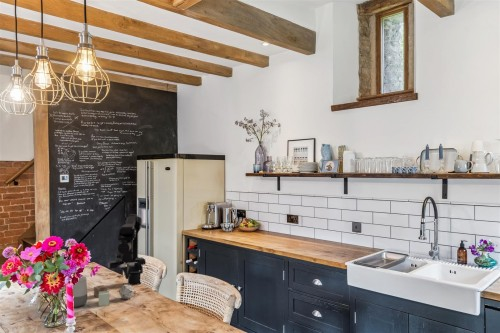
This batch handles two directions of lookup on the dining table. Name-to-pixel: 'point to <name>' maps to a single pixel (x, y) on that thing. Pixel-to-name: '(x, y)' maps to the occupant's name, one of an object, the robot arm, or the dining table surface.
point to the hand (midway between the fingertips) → (126, 278)
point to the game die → (126, 291)
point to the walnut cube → (98, 289)
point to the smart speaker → (80, 292)
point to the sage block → (103, 298)
